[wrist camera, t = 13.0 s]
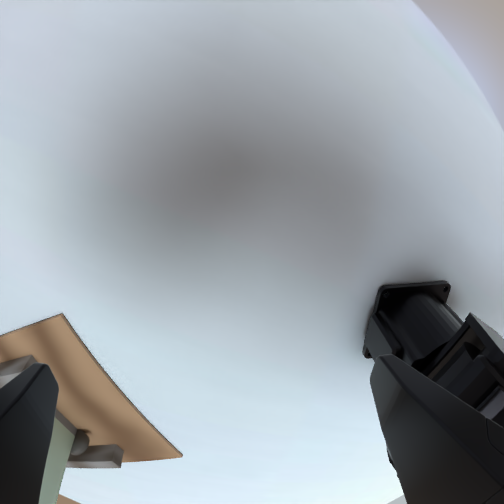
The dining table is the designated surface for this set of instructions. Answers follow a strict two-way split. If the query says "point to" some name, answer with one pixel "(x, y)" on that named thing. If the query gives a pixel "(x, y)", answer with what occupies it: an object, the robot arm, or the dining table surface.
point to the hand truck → (60, 456)
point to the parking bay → (84, 395)
